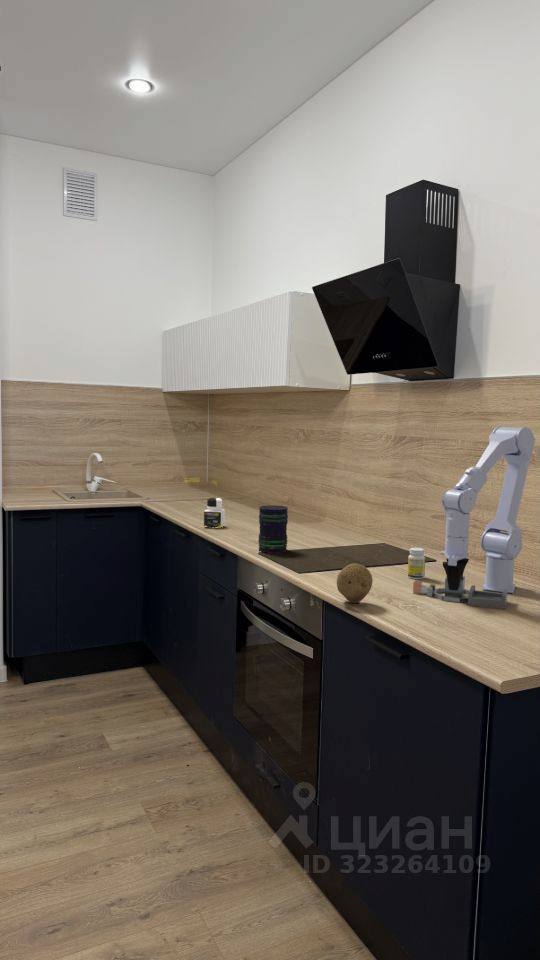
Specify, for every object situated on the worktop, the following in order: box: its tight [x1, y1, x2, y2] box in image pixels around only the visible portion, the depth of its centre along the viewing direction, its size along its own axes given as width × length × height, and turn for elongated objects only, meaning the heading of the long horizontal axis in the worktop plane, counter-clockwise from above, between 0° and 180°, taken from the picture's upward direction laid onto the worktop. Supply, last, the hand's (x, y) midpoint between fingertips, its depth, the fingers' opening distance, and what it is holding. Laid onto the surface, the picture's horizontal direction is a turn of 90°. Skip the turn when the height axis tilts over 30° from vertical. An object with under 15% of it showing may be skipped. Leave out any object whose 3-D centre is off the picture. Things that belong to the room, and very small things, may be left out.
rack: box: [467, 585, 508, 610], centre depth 173 cm, size 8×9×3 cm
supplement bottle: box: [407, 547, 426, 580], centre depth 199 cm, size 5×5×8 cm
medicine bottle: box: [203, 497, 226, 529], centre depth 282 cm, size 7×7×12 cm
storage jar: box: [258, 505, 289, 554], centre depth 235 cm, size 10×10×15 cm
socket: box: [426, 583, 470, 603], centre depth 179 cm, size 11×12×2 cm
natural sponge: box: [336, 563, 374, 604], centre depth 170 cm, size 9×9×10 cm
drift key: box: [412, 580, 432, 595], centre depth 182 cm, size 3×4×3 cm, turn 68°
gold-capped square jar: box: [444, 576, 466, 598], centre depth 179 cm, size 4×4×8 cm
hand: (454, 587), depth 179 cm, fingers closed on gold-capped square jar, 4 cm apart
